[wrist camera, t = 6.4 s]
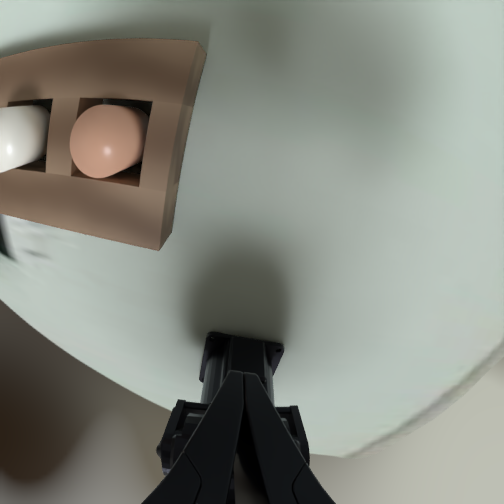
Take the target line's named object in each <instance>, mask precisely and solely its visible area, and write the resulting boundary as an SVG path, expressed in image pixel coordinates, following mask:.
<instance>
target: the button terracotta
mask: <svg viewBox="0 0 504 504" xmlns="http://www.w3.org/2000/svg"><path fill="white" fill-rule="evenodd" d="M148 124H149V117H148V116H147V114H146V113H144V112H143V111H142V110H140V109H138V108H136V107H131V106H118V105H96V106H93V107H91V108H89V109H87V110H86V111H85V112H83V113H82V114H81V115H80V117H79V118H78V119H77V121H76V122H75V124H74V126H73V129H72V132H71V136H70V152H71V156H72V159H73V161H74V163H75V165H76V166H77V167H78V169H79V170H80V171H81V172H83V173H84V174H86V175H87V176H90V177H93V178H104V177H108V176H110V175H113V174H115V173H117V172H119V171H122V170H124V169H126V168H129V167H131V166H134V165H136V164H138V163H139V162H141V161H142V160H143V154H144V148H145V142H146V136H147V130H148Z"/></svg>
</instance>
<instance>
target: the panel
mask: <svg viewBox="0 0 504 504" xmlns="http://www.w3.org/2000/svg"><path fill="white" fill-rule="evenodd" d="M206 55H207V54H206V52H205V51H204V49H203V48H202V46H201V45H200V43H199V42H198V41H189V40H176V39H152V38H130V39H106V40H93V41H83V42H75V43H68V44H61V45H55V46H49V47H44V48H39V49H34V50H30V51H26V52H21V53H18V54H14V55H10V56H7V57H3V58H0V108H5V107H15V106H29V105H33V100H50V99H53V102H52V109H51V116H50V123H49V132H48V143H47V156H46V161H34V162H31V163H28V164H25V165H22V166H19V167H16V168H13V169H10V170H7V171H5V172H1V173H0V213H1V214H5V215H9V216H13V217H17V218H21V219H25V220H29V221H33V222H37V223H41V224H45V225H49V226H53V227H57V228H61V229H66V230H70V231H74V232H78V233H82V234H87V235H91V236H95V237H99V238H104V239H108V240H112V241H117V242H121V243H126V244H130V245H134V246H139V247H143V248H148V249H152V250H157V251H159V250H160V249H161V247H162V246H163V244H164V243H165V241H166V240H167V238H168V237H169V235H170V234H171V233H172V226H173V219H174V211H175V204H176V198H177V191H178V185H179V179H180V173H181V167H182V161H183V156H184V151H185V145H186V140H187V135H188V130H189V125H190V121H191V116H192V112H193V107H194V103H195V98H196V94H197V90H198V86H199V82H200V78H201V74H202V70H203V66H204V63H205V59H206ZM103 99H113V100H130V101H143V102H153V104H152V109H151V114H150V119H149V124H148V130H147V136H146V142H145V148H144V154H143V161H142V169H141V174H136V173H130V172H123V171H119V172H117V173H115V174H113V175H110V176H108V177H104V178H93V177H90V176H87V175H86V174H84V173H83V172H81V171H80V170H79V169H78V167H77V166H76V165H75V163H74V161H73V159H72V156H71V152H70V136H71V132H72V129H73V126H74V124H75V122H76V121H77V119H78V118H79V117H80V115H81V114H82V113H83V112H85V111H86V110H87V109H89V108H91V107H93V106H96V105H102V104H103Z"/></svg>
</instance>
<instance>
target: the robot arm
mask: <svg viewBox="0 0 504 504" xmlns="http://www.w3.org/2000/svg"><path fill="white" fill-rule="evenodd" d="M211 337H213V338H214V339H212V338H211ZM283 353H284V346H283V345H282V344H280V343H275V342H268V341H262V340H255V339H249V338H244V337H238V336H232V335H227V334H222V333H217V332H209V333H208V334H207V338H206V344H205V349H204V355H203V360H202V366H201V371H200V377H199V380H200V381H201V382H203V390H202V396H201V403H195V402H186V400H179V399H178V401H177V404H176V406H175V407H174V408H173V410H172V413H171V416H170V418H169V421H168V424H167V426H166V429H165V432H164V435H163V437H162V440H161V441H160V443H159V445H158V446H157V450H156V451H157V454H158V456H159V457H160V458H161V462H162V469H163V473H164V475H165V478H164V479H163V480H162V481H161V483H160V484H159V485H158V486H157V487H156V488H155V489H154V491H153V492H152V493H151V494H150V495H149V496H148V497H147V498H146V499H145V500H144V501H143V502H142V503H141V504H336V503H335V502H334V501H333V500H332V499H331V497H330V496H329V495H328V494H327V492H326V491H325V490H324V489H323V488H322V486H321V485H320V483H319V482H318V480H317V479H316V477H315V476H314V474H313V473H312V471H311V469H310V468H309V462H310V460H309V459H310V456H309V445H308V441H307V437H306V434H305V430H304V427H303V423H302V420H301V416H300V413H299V409H298V406H297V405H296V406H290V407H275V406H274V391H273V375H274V373H275V371H276V368H277V366H278V364H279V362H280V359H281V357H282V355H283Z"/></svg>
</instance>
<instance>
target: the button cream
mask: <svg viewBox="0 0 504 504" xmlns="http://www.w3.org/2000/svg"><path fill="white" fill-rule="evenodd" d="M50 116H51V115H50V113H49V112H48V110H47V109H46V108H45V107H43V106H40V105H29V106H15V107H5V108H0V173H1V172H5V171H7V170H10V169H13V168H16V167H19V166H22V165H25V164H28V163H31V162H34V161H37V160H39V159H41V158H42V157H43V156H44V155H45V154H46V152H47V143H48V132H49V123H50Z"/></svg>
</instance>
